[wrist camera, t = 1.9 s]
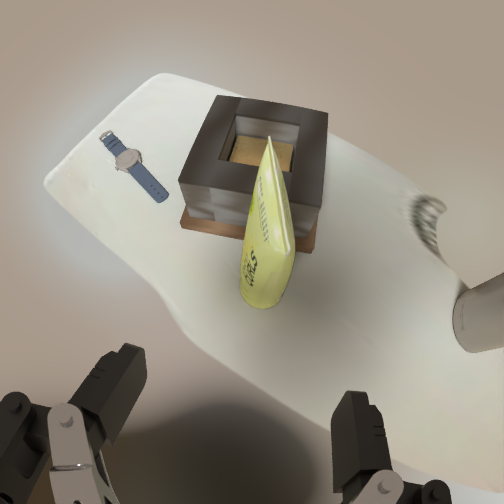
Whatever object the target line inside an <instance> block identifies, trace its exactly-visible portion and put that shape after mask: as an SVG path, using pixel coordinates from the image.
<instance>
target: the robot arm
mask: <svg viewBox="0 0 504 504" xmlns="http://www.w3.org/2000/svg"><path fill="white" fill-rule="evenodd" d="M453 326H454V331H455V335H456V338H457V340H458V342H459V344H460V345H461V346H462V347H463V348H464V349H465V350H466V351H468V352H471V353H477V352H482V351H487V350H492V349H497V348H502V347H504V273H502V274H500V275H498V276H496V277H494V278H492V279H490V280H488V281H486V282H484V283H482V284H480V285H478V286H476V287H474V288H472V289H470V290H468V291H466V292H464V293H463V294H462V295H461V296H460V297H459V299H458V300H457V302H456V305H455V308H454V314H453ZM146 379H147V369H146V359H145V351H144V349H143V348H141V347H138V346H135V345H131V344H129V343H125V344H124V345H123V346H122V348H121V349H120V350H119V351H118V353H116V352H113V351H111V352H109V353H107V354H106V355H104V356H102V357H101V358H100V360H99V361H98V362H97V364H96V365H95V368H93V369H92V370H91V372H90V374H89V375H88V376H87V377H86V379H85V380H84V381H83V383H82V384H81V385H80V387H79V388H78V390H77V391H76V392H75V394H74V395H73V396H72V398H71V399H70V400H69V402H68V403H62V404H58V405H56V406H54V407H53V408H51V407H45V406H41V405H36V404H33V403H31V402H30V400H29V399H28V397H27V396H26V395H25V394H23V393H21V392H11V393H9V394H7V395H6V396H5V397H4V398H3V399H2V401H1V402H0V504H27V501H28V499H29V497H30V495H31V493H32V491H33V488H34V486H35V484H36V482H37V480H38V478H39V476H40V474H41V472H42V470H43V468H44V466H45V464H46V462H47V460H48V458H49V456H50V454H52V460H53V468H51V469H50V480H51V485H52V489H53V494H54V498H55V502H56V504H119V502H118V500H117V498H116V496H115V494H114V492H113V489H112V487H111V484H110V481H109V478H108V474H107V471H106V468H105V465H104V461H103V458H102V454H101V451H100V449H101V447H102V445H103V444H104V443H106V444H108V445H111V446H113V444H114V443H115V441H116V439H117V437H118V435H119V433H120V431H121V429H122V427H123V425H124V423H125V421H126V420H127V418H128V416H129V414H130V412H131V410H132V408H133V406H134V404H135V402H136V401H137V399H138V397H139V395H140V393H141V392H142V390H143V388H144V386H145V383H146ZM385 435H386V433H385V428H384V423H383V418H382V415H381V413H380V412H379V410H378V409H377V407H376V406H375V405H369V401H368V396H367V393H366V392H360V391H346V392H345V394H344V396H343V397H342V399H341V401H340V403H339V404H338V406H337V408H336V409H335V411H334V413H333V415H332V419H331V440H332V460H333V462H332V463H333V493H343V499H342V500H341V501H340V502H339V503H338V504H452V501H451V495H450V490H449V487H448V486H447V484H446V483H444V482H443V481H441V480H431V481H429V482H428V483H426V484H425V485H420V484H414V483H408V482H405V481H403V480H402V478H401V477H400V476H399V475H398V474H397V473H396V472H394V471H393V469H392V466H391V460H390V454H389V448H388V443H387V438H386V437H385Z"/></svg>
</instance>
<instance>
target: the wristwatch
mask: <svg viewBox="0 0 504 504" xmlns="http://www.w3.org/2000/svg"><path fill="white" fill-rule="evenodd" d="M110 132H111V131H107V132H105V133H103V134H102V135H101V136H100V138H99V139H100V140H101V138H103V137H104V136H106V135H107V134H108V133H110ZM111 133H112V132H111ZM101 141H102V142H103V143H104V145H105V146H106V147H107V149H108V150H109V151H111V152H112V153H113V155H114V156H115V160H116V167H115V168H116V170H118V169H119V170H121V171H124V172H126V173H130V174H131V175H132V176H133V177H134V178H135V179H136V181H137V182H138V183H139V184H140V185H141V186H142V187H143V188H144V189H145V190H146V191H147V192H148V193H149V195H150V196H151V197H152V198H153V199H154V200H155V201H156V202H157V203H160V202H163V201H164V200H165V199H167V198H168V196H169V194H168V192H167V191H166V190H165V189H164V188H163V187H162V186H161V185H160V184H159V183H158V182H157V180H156V179H155V178H154V177H153V176H152V175H151V174H150V173H149V172H148V171H147V170H146V169H145V168H144V166H143V165H142V162H141V158H140V155H139V152H138V151H137V150H135V149H129V148H127V149H126V147H125V146H124V145H123V144H122V143H121V141H120V140H118V138H117V137H116V136H114V135H113V133H112V134H110V135H109V136H106V138H104V139H103V140H101ZM138 162H139V163H138Z"/></svg>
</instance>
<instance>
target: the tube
mask: <svg viewBox="0 0 504 504" xmlns="http://www.w3.org/2000/svg"><path fill="white" fill-rule="evenodd" d="M294 258H295V238H294V230H293V224H292V218H291V212H290V207H289V201H288V196H287V191H286V187H285V183H284V179H283V175H282V171H281V168H280V164H279V161H278V158H277V155H276V153H275V150H274V148H273V146H272V142H271V137H270V136H268V144H267V146H266V149H265V151H264V154H263V157H262V160H261V163H260V167H259V170H258V174H257V178H256V182H255V187H254V191H253V196H252V201H251V206H250V210H249V215H248V220H247V225H246V231H245V237H244V243H243V250H242V259H241V269H240V290H241V295H242V297H243V298H244V300H245V301H246V302H247V303H248V304H249V305H251V306H252V307H255V308H259V309H266V308H270V307H272V306H274V305H275V304H277V303H278V302H279V301H280V299H281V298H282V296H283V293H284V291H285V288H286V286H287V283H288V280H289V277H290V274H291V271H292V267H293V263H294Z"/></svg>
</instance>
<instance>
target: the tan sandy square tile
mask: <svg viewBox="0 0 504 504" xmlns="http://www.w3.org/2000/svg"><path fill="white" fill-rule="evenodd" d="M271 142H272V146H273V148H274V150H275V153H276V155H277V158H278V161H279V164H280V168H281V171H286V172H289V168H290V162H291V156H292V150H293V145H292V144H287V143H282V142H276V141H271ZM267 144H268V140H265V139H259V138H253V137H247V136H240V135H238V136H237V139H236V142H235V145H234V148H233V151H232V154H231V157H230V160H229V161H230V162H236V163H242V164H248V165H254V166H260V163H261V160H262V157H263V154H264V151H265V149H266V146H267Z"/></svg>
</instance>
